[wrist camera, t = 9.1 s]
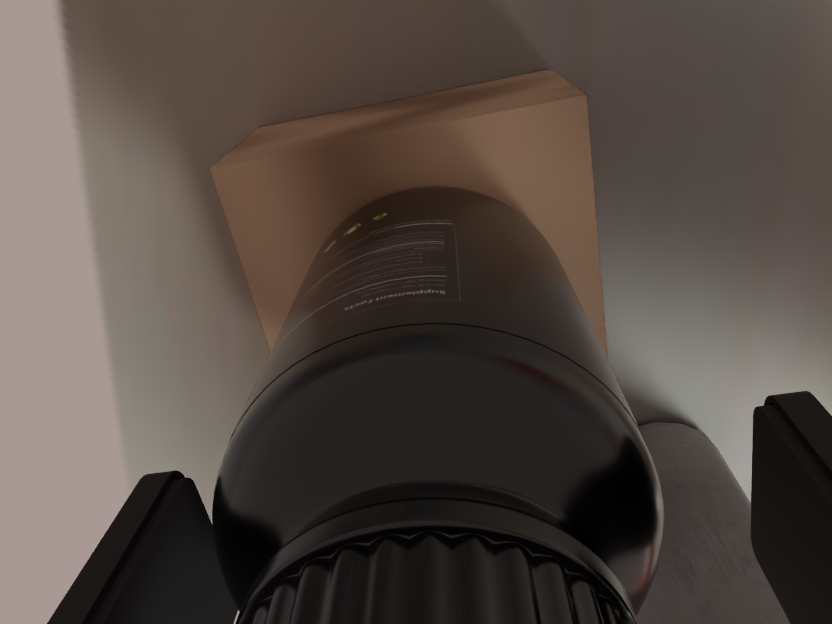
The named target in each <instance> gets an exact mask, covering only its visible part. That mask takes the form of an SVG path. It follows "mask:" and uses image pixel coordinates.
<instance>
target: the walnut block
mask: <svg viewBox="0 0 832 624" xmlns="http://www.w3.org/2000/svg"><path fill="white" fill-rule="evenodd" d="M209 169H210V172H211V175H212V178H213V181H214V184H215V187H216V190H217V193H218V196H219V199H220V202H221V205H222V208H223V211H224V214H225V217H226V220H227V223H228V226H229V229H230V232H231V235H232V238H233V241H234V244H235V247H236V250H237V253H238V256H239V259H240V262H241V265H242V268H243V271H244V274H245V277H246V280H247V283H248V286H249V289H250V292H251V295H252V298H253V301H254V304H255V307H256V310H257V313H258V316H259V319H260V322H261V325H262V328H263V331H264V334H265V337H266V340H267V343H268V346H269V349H270V351H271V349H272V347H273V345H274V343H275V340H276V338H277V336H278V334H279V332H280V330H281V327H282V325H283V323H284V321H285V319H286V317H287V314H288V312H289V310H290V308H291V306H292V304H293V301H294V299H295V297H296V295H297V293H298V291H299V288H300V286H301V284H302V282H303V280H304V278H305V276H306V274H307V272H308V270H309V268H310V266H311V264H312V262H313V260H314V258H315V256H316V254H317V253H318V251H319V250H320V248H321V247H322V245H323V243H324V242H325V241H326V239H327V238H328V237H329V236H330V235H331V233H332V232H333V231H334V230H335V229H336V228H337V227H338V226H339V225H340V224H341V223H342V222H343V221H344V220H345V219H346V218H348V217H349V216H350V215H351V214H353V213H354V212H355V211H357V210H358V209H360V208H362V207H363V206H365V205H366V204H368V203H370V202H372V201H374V200H376V199H378V198H381V197H383V196H386V195H389V194H391V193H395V192H398V191H402V190H407V189H412V188H418V187H430V186H437V187H453V188H461V189H466V190H470V191H474V192H478V193H481V194H484V195H487V196H489V197H491V198H494V199H496V200H498V201H500V202H502V203H504V204H506V205H508V206H509V207H511V208H513V209H514V210H515V211H517V212H518V213H520V214H521V215H522V216H524V217H525V218H526V219H527V220H528V221H529V222H531V223H532V224H533V225H534V226H535V227H536V228H537V230H538V231H539V232H540V233H541V234H542V235H543V236H544V238H545V239H546V240H547V242H548V243H549V244H550V246H551V247H552V249H553V251H554V252H555V254H556V256H557V257H558V259H559V261H560V263H561V265H562V267H563V268H564V270H565V272H566V274H567V277H568V279H569V281H570V283H571V285H572V287H573V289H574V291H575V293H576V296H577V298H578V300H579V302H580V304H581V306H582V308H583V310H584V312H585V315H586V317H587V319H588V321H589V323H590V325H591V327H592V329H593V331H594V333H595V336H596V338H597V340H598V342H599V344H600V346H601V348H602V350H603V352H604V355H605V357H606V359H607V361H608V357H607V344H606V332H605V319H604V307H603V294H602V282H601V269H600V256H599V244H598V231H597V219H596V206H595V194H594V181H593V169H592V156H591V144H590V131H589V119H588V106H587V95H586V94H585V93H583V92H582V91H580V90H579V89H578V88H576V87H575V86H574V85H572V84H571V83H570V82H568V81H567V80H566V79H564V78H563V77H562V76H560V75H559V74H558V73H556V72H555V71H553V70H552V69H548V70H543V71H538V72H533V73H528V74H523V75H518V76H514V77H509V78H504V79H499V80H494V81H489V82H484V83H479V84H474V85H469V86H464V87H459V88H454V89H449V90H444V91H439V92H434V93H429V94H424V95H419V96H414V97H409V98H404V99H399V100H394V101H389V102H384V103H379V104H374V105H369V106H364V107H359V108H354V109H349V110H344V111H339V112H334V113H329V114H324V115H319V116H314V117H309V118H304V119H299V120H294V121H289V122H284V123H279V124H274V125H269V126H264V127H259V128H257V129H256V130H255V131H253V132H252V133H251V134H250V135H249V136H247V137H246V138H245V139H244V140H243V141H241V142H240V143H239V144H238V145H237V146H236V147H234V148H233V149H232V150H231V151H230V152H228V153H227V154H226V155H225V156H224V157H222V158H221V159H220V160H219V161H218V162H217V163H215V164H214V165H213V166H212V167H211V168H209Z"/></svg>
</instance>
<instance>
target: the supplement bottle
mask: <svg viewBox="0 0 832 624" xmlns="http://www.w3.org/2000/svg"><path fill="white" fill-rule="evenodd" d="M212 521H213V536H214V542H215V548H216V554H217V558H218V562H219V565H220V568H221V572H222V575H223V578H224V581H225V583H226V585H227V588H228V590H229V592H230V595H231V597H232V599H233V601H234V602H235V604H236V606H237V608H238V610H239V611H240V613H239V616H238V618H237V621H236V624H638V623H637V619H636V615H637V614H638V612H639V611H640V609H641V607H642V605H643V603H644V601H645V599H646V597H647V595H648V593H649V591H650V588H651V585H652V582H653V579H654V577H655V574H656V571H657V567H658V563H659V559H660V554H661V550H662V543H663V533H664V505H663V497H662V492H661V486H660V481H659V478H658V475H657V472H656V469H655V465H654V463H653V460H652V457H651V454H650V452H649V449H648V446H647V444H646V442H645V439H644V437H643V435H642V433H641V431H640V429H639V426H638V424H637V422H636V420H635V418H634V416H633V414H632V411H631V409H630V407H629V405H628V403H627V401H626V399H625V397H624V395H623V392H622V390H621V388H620V386H619V384H618V382H617V380H616V378H615V376H614V373H613V371H612V369H611V367H610V365H609V363H608V361H607V359H606V357H605V355H604V352H603V350H602V348H601V346H600V344H599V342H598V340H597V338H596V336H595V333H594V331H593V329H592V327H591V325H590V323H589V321H588V319H587V317H586V315H585V312H584V310H583V308H582V306H581V304H580V302H579V300H578V298H577V296H576V293H575V291H574V289H573V287H572V285H571V283H570V281H569V279H568V277H567V274H566V272H565V270H564V268H563V267H562V265H561V263H560V261H559V259H558V257H557V256H556V254H555V252H554V251H553V249H552V247H551V246H550V244H549V243H548V242H547V240H546V239H545V238H544V236H543V235H542V234H541V233H540V232H539V231H538V230H537V228H536V227H535V226H534V225H533V224H532V223H531V222H529V221H528V220H527V219H526V218H525V217H524V216H522V215H521V214H520V213H518V212H517V211H515V210H514V209H513V208H511V207H509V206H508V205H506V204H504V203H502V202H500V201H498V200H496V199H494V198H491V197H489V196H487V195H484V194H481V193H478V192H474V191H470V190H466V189H461V188H453V187H437V186H430V187H418V188H412V189H407V190H402V191H398V192H395V193H391V194H389V195H386V196H383V197H381V198H378V199H376V200H374V201H372V202H370V203H368V204H366V205H365V206H363V207H362V208H360V209H358V210H357V211H355V212H354V213H353V214H351V215H350V216H349V217H348V218H346V219H345V220H344V221H343V222H342V223H341V224H340V225H339V226H338V227H337V228H336V229H335V230H334V231H333V232H332V233H331V235H330V236H329V237H328V238H327V239H326V241H325V242H324V243H323V245H322V247H321V248H320V250H319V251H318V253H317V254H316V256H315V258H314V260H313V262H312V264H311V266H310V268H309V270H308V272H307V274H306V276H305V278H304V280H303V282H302V284H301V286H300V288H299V291H298V293H297V295H296V297H295V299H294V301H293V304H292V306H291V308H290V310H289V312H288V314H287V317H286V319H285V321H284V323H283V325H282V327H281V330H280V332H279V334H278V336H277V338H276V340H275V343H274V345H273V347H272V349H271V351H270V353H269V356H268V358H267V360H266V362H265V364H264V366H263V369H262V371H261V373H260V375H259V377H258V380H257V382H256V384H255V386H254V388H253V390H252V393H251V395H250V397H249V399H248V401H247V403H246V406H245V408H244V410H243V412H242V414H241V416H240V419H239V421H238V423H237V425H236V427H235V429H234V432H233V434H232V436H231V439H230V442H229V445H228V447H227V450H226V453H225V455H224V458H223V461H222V463H221V466H220V469H219V472H218V476H217V481H216V485H215V489H214V499H213V510H212Z"/></svg>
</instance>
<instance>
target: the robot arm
mask: <svg viewBox="0 0 832 624" xmlns="http://www.w3.org/2000/svg"><path fill="white" fill-rule="evenodd" d="M751 543H752V547H753V551H754V554H755V557H756V559H757V561H758V563H759V565H760V567H761V569H762V571H763V572H764V574H765V576H766V578H767V580H768V582H769V584H770V586H771V588H772V590H773V592H774V593H775V595H776V597H777V599H778V601H779V603H780V605H781V607H782V609H783V611H784V612H785V614H786V616H787V618H788V620H789V622H790V624H832V416H831V415H830V414H829V413H828V411H827V410H826V409H825V408H824V407H823V406H822V405H821V403H820V402H819V401H818V400H817V399H816V398H815V397H814V396H813V395H812V394H811V393H810V392H807V391H802V392H795V393H787V394H779V395H771V396H768V397H767V398H766V400H765V404H764V406H759V407H756V408H755V409H754V414H753V452H752V493H751ZM237 612H238V608H237V606H236V604H235V602H234V601H233V599H232V597H231V595H230V592H229V590H228V588H227V585H226V583H225V581H224V578H223V575H222V572H221V568H220V565H219V562H218V558H217V554H216V548H215V542H214V536H213V526H212V523H211V521H210V519H209V516H208V514H207V512H206V509H205V507H204V504H203V502H202V500H201V497H200V495H199V493H198V490H197V488H196V486H195V483H194V482H193V480H192V479H191V478H185V477H184V475H183V474H182V473H181V472H180V471H170V472H162V473H154V474H147V475H145V476H143V477H142V478H141V479H140V480H139V482H138V484H137V485H136V487H135V488H134V490H133V491H132V493H131V494H130V496H129V498H128V499H127V501H126V502H125V504H124V505H123V507H122V508H121V510H120V511H119V513H118V515H117V516H116V518H115V519H114V521H113V522H112V524H111V525H110V527H109V529H108V530H107V532H106V533H105V535H104V537H103V538H102V539H101V541H100V543H99V544H98V546H97V547H96V549H95V550H94V552H93V553H92V555H91V556H90V558H89V560H88V561H87V563H86V564H85V566H84V567H83V569H82V570H81V572H80V574H79V575H78V577H77V578H76V580H75V581H74V583H73V584H72V586H71V587H70V589H69V591H68V592H67V594H66V595H65V597H64V598H63V600H62V601H61V603H60V604H59V606H58V608H57V609H56V611H55V612H54V614H53V615H52V617H51V619H50V620H49V622H48V623H47V624H233V623H234V620H235V617H236V615H237Z"/></svg>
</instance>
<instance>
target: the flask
mask: <svg viewBox="0 0 832 624" xmlns="http://www.w3.org/2000/svg"><path fill="white" fill-rule="evenodd" d="M639 429H640V431H641V433H642V435H643V437H644V439H645V442H646V444H647V446H648V449H649V452H650V454H651V457H652V460H653V463H654V465H655V469H656V472H657V475H658V478H659V481H660V486H661V492H662V497H663V505H664V533H663V543H662V550H661V554H660V559H659V563H658V567H657V571H656V574H655V577H654V579H653V582H652V585H651V588H650V591H649V593H648V595H647V597H646V599H645V601H644V603H643V605H642V607H641V609H640V611H639V612H638V614H637V615H636V619H637V623H638V624H790V622H789V620H788V618H787V616H786V614H785V612H784V611H783V609H782V607H781V605H780V603H779V601H778V599H777V597H776V595H775V593H774V592H773V590H772V588H771V586H770V584H769V582H768V580H767V578H766V576H765V574H764V572H763V571H762V569H761V567H760V565H759V563H758V561H757V559H756V557H755V554H754V551H753V547H752V543H751V503H750V501H749V500H748V498H747V497H746V495H745V493H744V492H743V490H742V488H741V487H740V485H739V483H738V482H737V480H736V478H735V477H734V475H733V474H732V472H731V470H730V469H729V467H728V465H727V464H726V462H725V460H724V459H723V457H722V455H721V454H720V452H719V451H718V449H717V448H716V447H715V445H714V444H713V443H712V442H711V441H710V440H709V439H708V437H707V436H706V435H705V434H704V433H702V432H700V431H698V430H696V429H693V428H691V427H689V426H686V425H684V424H679V423H664V422H654V423H650V424H645V425H641V426H639Z"/></svg>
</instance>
